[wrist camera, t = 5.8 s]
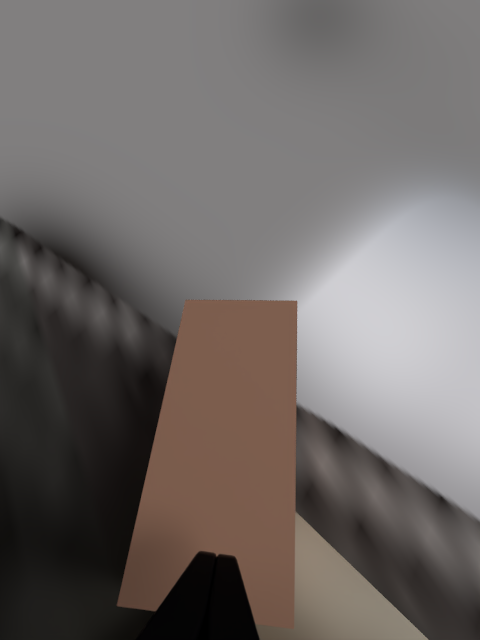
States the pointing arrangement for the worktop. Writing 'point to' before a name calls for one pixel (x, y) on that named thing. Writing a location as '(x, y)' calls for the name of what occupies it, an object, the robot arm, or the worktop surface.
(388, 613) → the maple board
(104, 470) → the worktop surface
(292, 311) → the terracotta block
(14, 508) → the worktop surface
